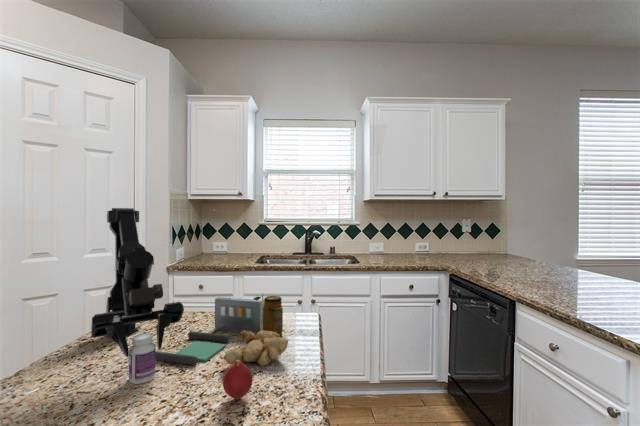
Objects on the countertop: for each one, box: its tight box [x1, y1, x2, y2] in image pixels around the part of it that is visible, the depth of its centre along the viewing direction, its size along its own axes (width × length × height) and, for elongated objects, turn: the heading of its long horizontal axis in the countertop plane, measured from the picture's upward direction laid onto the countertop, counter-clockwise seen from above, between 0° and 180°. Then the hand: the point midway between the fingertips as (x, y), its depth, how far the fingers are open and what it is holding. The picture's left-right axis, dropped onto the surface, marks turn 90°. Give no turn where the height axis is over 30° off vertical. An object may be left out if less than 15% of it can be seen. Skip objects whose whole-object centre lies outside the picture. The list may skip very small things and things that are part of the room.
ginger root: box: [222, 330, 289, 367], centre depth 84 cm, size 16×16×8 cm
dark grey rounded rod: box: [155, 350, 199, 366], centre depth 82 cm, size 13×2×2 cm, turn 76°
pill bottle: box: [128, 332, 157, 385], centre depth 73 cm, size 5×5×10 cm
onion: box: [222, 360, 254, 401], centre depth 65 cm, size 6×6×8 cm
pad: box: [174, 340, 227, 363], centre depth 88 cm, size 10×10×1 cm
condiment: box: [263, 295, 290, 341], centre depth 99 cm, size 7×8×12 cm
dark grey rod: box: [187, 330, 230, 343], centre depth 96 cm, size 13×2×2 cm, turn 76°
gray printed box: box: [214, 296, 264, 335], centre depth 104 cm, size 16×3×10 cm, turn 76°
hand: (144, 352), depth 72 cm, fingers open, 6 cm apart
